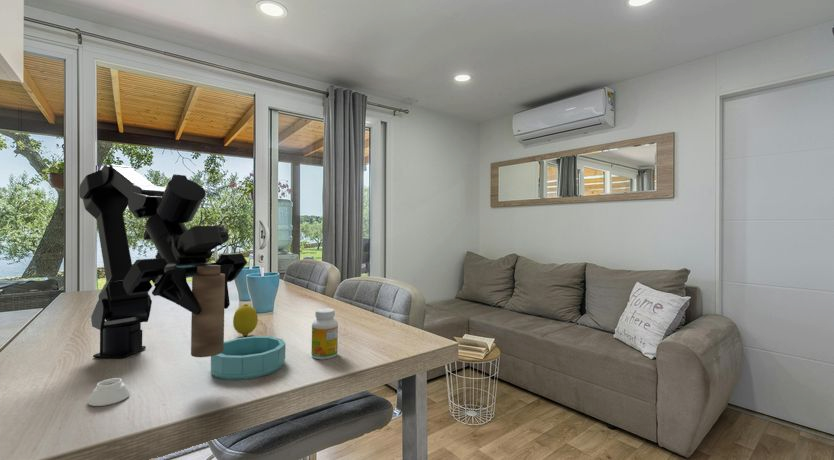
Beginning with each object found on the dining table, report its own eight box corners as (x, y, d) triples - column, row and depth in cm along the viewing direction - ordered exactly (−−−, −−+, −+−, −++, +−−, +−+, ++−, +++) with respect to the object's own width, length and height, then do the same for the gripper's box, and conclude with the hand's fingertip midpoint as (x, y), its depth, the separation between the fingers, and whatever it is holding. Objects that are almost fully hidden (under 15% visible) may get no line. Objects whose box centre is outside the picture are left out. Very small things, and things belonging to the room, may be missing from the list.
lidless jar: (116, 407, 57) (136, 393, 62) (116, 388, 57) (136, 375, 62) (79, 409, 56) (102, 394, 61) (79, 389, 56) (103, 376, 61)
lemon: (248, 340, 90) (248, 306, 90) (227, 338, 91) (228, 305, 91) (262, 333, 96) (262, 302, 96) (242, 332, 97) (243, 301, 97)
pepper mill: (184, 356, 61) (185, 267, 61) (201, 347, 66) (203, 264, 66) (213, 357, 61) (215, 267, 61) (229, 348, 66) (230, 264, 65)
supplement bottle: (306, 355, 80) (307, 310, 80) (328, 349, 84) (328, 306, 84) (320, 362, 76) (321, 314, 76) (342, 355, 80) (343, 310, 80)
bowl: (195, 379, 67) (196, 356, 67) (232, 354, 80) (232, 335, 80) (268, 380, 67) (268, 358, 67) (293, 355, 80) (293, 336, 80)
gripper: (134, 206, 56) (179, 286, 52) (241, 211, 73) (282, 272, 68) (105, 255, 60) (144, 335, 55) (213, 250, 77) (251, 310, 72)
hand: (213, 309), depth 63 cm, fingers closed on pepper mill, 5 cm apart
